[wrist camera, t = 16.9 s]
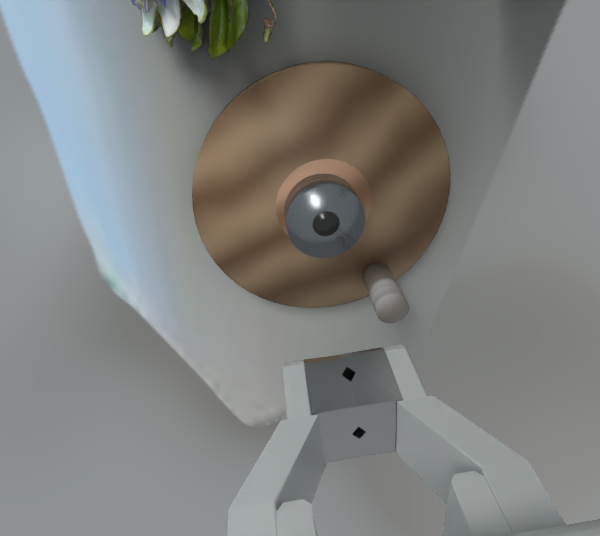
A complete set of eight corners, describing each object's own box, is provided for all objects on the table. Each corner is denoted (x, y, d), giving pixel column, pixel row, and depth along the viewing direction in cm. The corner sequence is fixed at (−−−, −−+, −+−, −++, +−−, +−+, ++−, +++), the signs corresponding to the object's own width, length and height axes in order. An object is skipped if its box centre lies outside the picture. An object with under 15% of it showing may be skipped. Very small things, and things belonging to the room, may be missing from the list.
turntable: (138, 177, 38) (114, 215, 31) (362, -9, 32) (391, -11, 25) (294, 330, 50) (301, 381, 43) (479, 215, 44) (520, 254, 37)
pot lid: (268, 203, 38) (270, 218, 36) (332, 158, 37) (338, 170, 34) (311, 254, 42) (315, 271, 39) (371, 215, 40) (379, 229, 38)
